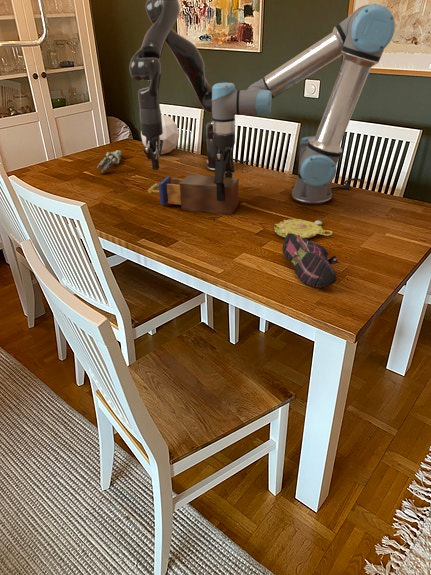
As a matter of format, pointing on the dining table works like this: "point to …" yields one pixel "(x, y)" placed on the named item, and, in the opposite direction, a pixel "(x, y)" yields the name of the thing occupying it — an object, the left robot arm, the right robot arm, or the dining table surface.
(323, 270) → the athletic shoe
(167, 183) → the drawer
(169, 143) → the sphere
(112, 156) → the figurine
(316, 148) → the right robot arm
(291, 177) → the dining table surface
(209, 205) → the cabinet
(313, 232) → the decorative object
